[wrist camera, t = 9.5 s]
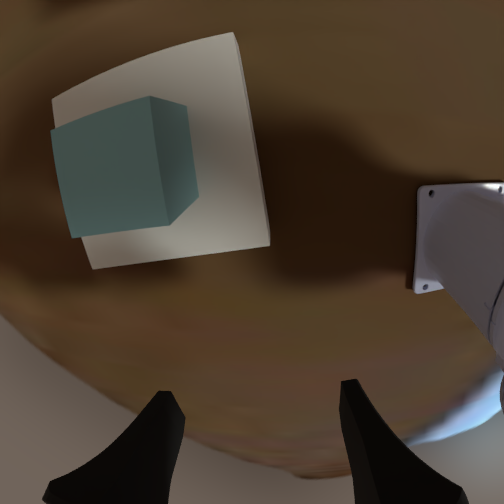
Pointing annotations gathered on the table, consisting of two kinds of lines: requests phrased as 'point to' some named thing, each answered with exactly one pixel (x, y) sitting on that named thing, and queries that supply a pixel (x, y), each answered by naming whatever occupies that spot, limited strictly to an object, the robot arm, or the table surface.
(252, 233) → the grey plinth
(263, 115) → the table surface
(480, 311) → the robot arm
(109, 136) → the teal cube
